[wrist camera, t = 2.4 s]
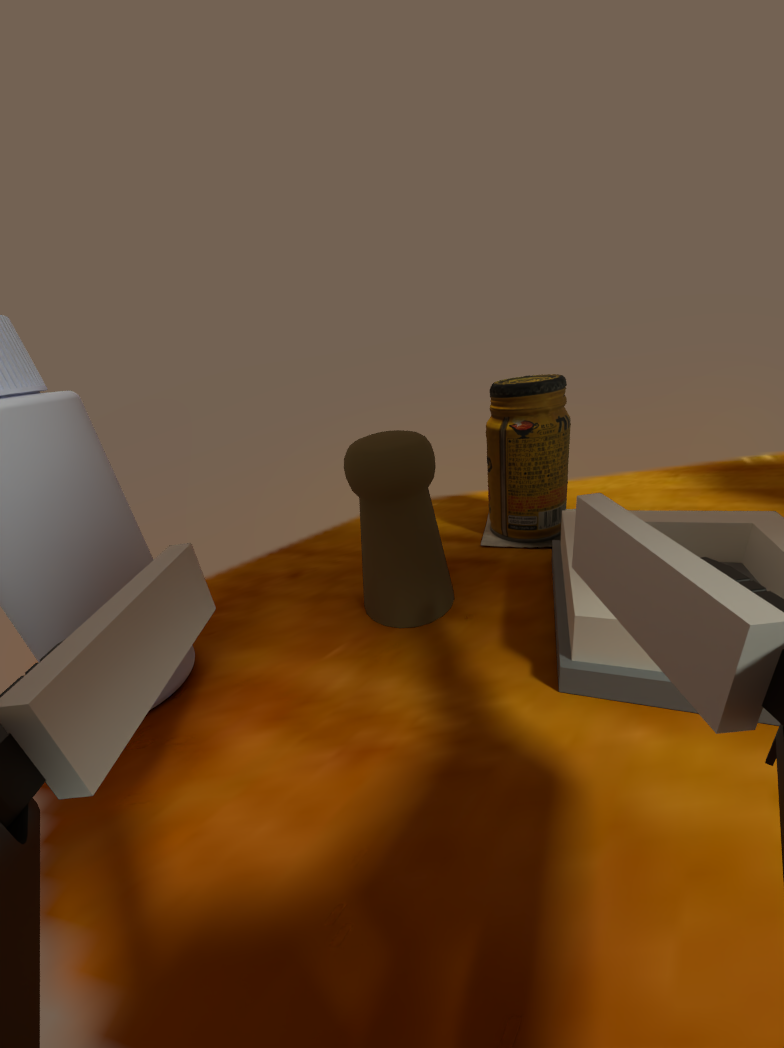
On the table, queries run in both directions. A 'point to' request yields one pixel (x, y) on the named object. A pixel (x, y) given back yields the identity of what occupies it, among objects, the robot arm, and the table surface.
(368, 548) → the cork
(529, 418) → the condiment
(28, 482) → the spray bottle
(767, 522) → the collar holder
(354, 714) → the table surface
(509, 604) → the table surface
